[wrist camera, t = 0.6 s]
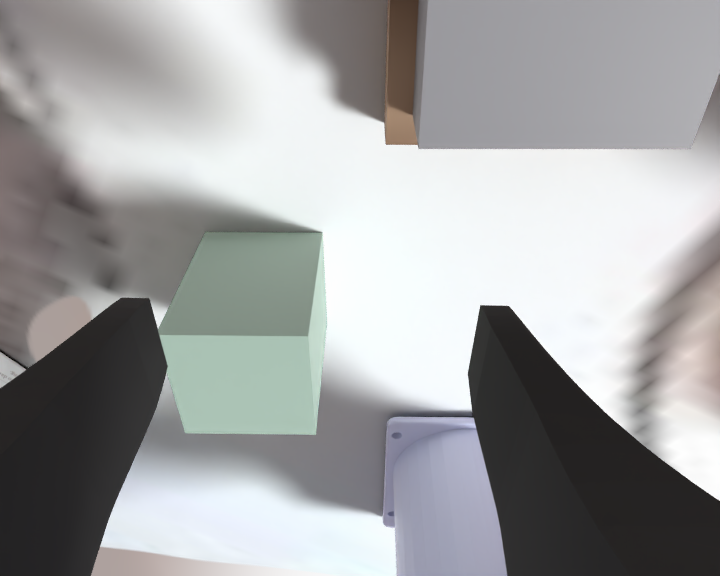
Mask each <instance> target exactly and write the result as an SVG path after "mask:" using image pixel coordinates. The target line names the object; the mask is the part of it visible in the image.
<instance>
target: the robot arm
mask: <svg viewBox="0 0 720 576" xmlns="http://www.w3.org/2000/svg"><path fill="white" fill-rule="evenodd" d="M167 368H168V365H167V361H166V358H165V354H164V350H163V347H162V343H161V340H160V336H159V332H158V329H157V325H156V321H155V318H154V314H153V310H152V307H151V303H150V299H149V298H120V299H119V300H118V301H116V302H115V303H113V304H112V305H111V306H109V307H108V308H107V309H105V310H104V311H103V312H102V313H100V314H99V315H98V316H96V317H95V318H94V319H93V320H91V321H90V322H89V323H87V324H86V325H85V326H84V327H82V328H81V329H80V330H79V331H77V332H76V333H75V334H74V335H72V336H71V337H70V338H68V339H67V340H66V341H64V342H63V343H62V344H61V345H59V346H58V347H57V348H55V349H54V350H53V351H51V352H50V353H49V354H47V355H46V356H45V357H44V358H42V359H41V360H39V361H38V362H37V363H35V364H34V365H32V366H31V367H29V368H28V369H27V370H25V371H24V372H22V373H21V374H20V375H18V376H17V377H15V378H14V379H13V380H11V381H10V382H8V383H7V384H6V385H4V386H3V387H1V388H0V576H91V573H92V570H93V566H94V563H95V560H96V557H97V554H98V550H99V548H100V544H101V541H102V538H103V535H104V532H105V529H106V526H107V523H108V520H109V517H110V514H111V512H112V509H113V507H114V504H115V502H116V499H117V497H118V494H119V492H120V490H121V488H122V485H123V483H124V481H125V479H126V476H127V474H128V472H129V470H130V467H131V465H132V463H133V461H134V458H135V456H136V454H137V451H138V449H139V447H140V445H141V442H142V440H143V438H144V436H145V433H146V431H147V429H148V426H149V424H150V422H151V419H152V417H153V415H154V412H155V410H156V407H157V404H158V401H159V397H160V394H161V391H162V387H163V383H164V379H165V376H166V372H167ZM468 378H469V387H470V396H471V404H472V411H473V417H474V418H468V417H393V418H391V419H389V420H388V421H387V431H386V455H385V478H384V502H383V524H384V525H385V526H386V527H391V528H395V541H396V567H397V576H720V501H719V500H717V499H716V498H714V497H713V496H711V495H710V494H708V493H707V492H706V491H704V490H703V489H701V488H700V487H698V486H697V485H695V484H694V483H692V482H691V481H690V480H688V479H687V478H686V477H684V476H683V475H682V474H680V473H679V472H677V471H676V470H675V469H673V468H672V467H671V466H669V465H668V464H667V463H665V462H664V461H663V460H661V459H660V458H659V457H657V456H656V455H655V454H654V453H652V452H651V451H650V450H648V449H647V448H646V447H645V446H643V445H642V444H641V443H640V442H639V441H637V440H636V439H635V438H634V437H633V436H632V435H630V434H629V433H628V432H627V431H626V430H625V429H623V428H622V427H621V426H620V425H619V424H617V423H616V422H615V421H614V420H613V419H612V418H611V417H610V416H608V415H607V414H606V413H605V412H604V411H603V410H602V409H601V408H600V407H599V406H598V405H597V404H596V403H595V402H594V401H593V400H592V399H591V398H590V397H589V396H588V395H587V394H586V393H585V392H584V391H583V390H582V389H581V388H580V387H579V386H578V385H577V384H576V383H575V382H574V381H573V380H572V379H571V378H570V377H569V376H568V375H567V374H566V372H565V371H564V370H563V369H562V368H561V367H560V366H559V365H558V364H557V362H556V361H555V360H554V359H553V358H552V357H551V356H550V355H549V353H548V352H547V351H546V350H545V349H544V348H543V346H542V345H541V344H540V343H539V342H538V341H537V339H536V338H535V337H534V336H533V335H532V333H531V332H530V331H529V330H528V328H527V327H526V326H525V325H524V324H523V322H522V321H521V320H520V319H519V317H518V316H517V315H516V314H515V313H514V311H513V310H512V309H511V308H510V307H509V306H485V305H480V310H479V316H478V321H477V327H476V332H475V338H474V343H473V349H472V354H471V359H470V365H469V370H468ZM395 432H398V433H395Z"/></svg>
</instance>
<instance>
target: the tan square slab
mask: <svg viewBox="0 0 720 576" xmlns="http://www.w3.org/2000/svg"><path fill="white" fill-rule="evenodd" d="M418 3H419V0H388V8H387V44H386V80H385V117H384V125H385V141H386V145H418V143H417V137H416V132H415V126H414V121H413V116H412V115H413V96H414V78H415V59H416V41H417V22H418Z"/></svg>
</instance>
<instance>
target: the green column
mask: <svg viewBox="0 0 720 576" xmlns="http://www.w3.org/2000/svg"><path fill="white" fill-rule="evenodd" d="M326 328H327V312H326V292H325V272H324V252H323V232H205V234H204V236H203V238H202V240H201V242H200V244H199V246H198V248H197V250H196V252H195V254H194V256H193V258H192V261H191V263H190V265H189V267H188V269H187V271H186V273H185V275H184V277H183V279H182V281H181V283H180V285H179V287H178V290H177V292H176V294H175V296H174V298H173V300H172V302H171V304H170V306H169V308H168V310H167V312H166V314H165V317H164V319H163V321H162V323H161V325H160V327H159V329H158V332H159V336H160V340H161V343H162V347H163V350H164V354H165V358H166V361H167V365H168V368H167V375H168V378H169V381H170V384H171V388H172V391H173V394H174V398H175V401H176V404H177V408H178V411H179V414H180V418H181V421H182V424H183V427H184V431H185V433H195V434H284V435H316V428H317V418H318V408H319V398H320V388H321V378H322V368H323V358H324V348H325V338H326Z"/></svg>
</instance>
